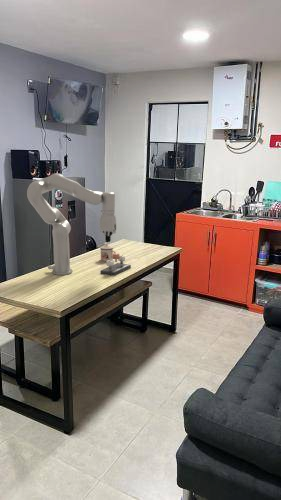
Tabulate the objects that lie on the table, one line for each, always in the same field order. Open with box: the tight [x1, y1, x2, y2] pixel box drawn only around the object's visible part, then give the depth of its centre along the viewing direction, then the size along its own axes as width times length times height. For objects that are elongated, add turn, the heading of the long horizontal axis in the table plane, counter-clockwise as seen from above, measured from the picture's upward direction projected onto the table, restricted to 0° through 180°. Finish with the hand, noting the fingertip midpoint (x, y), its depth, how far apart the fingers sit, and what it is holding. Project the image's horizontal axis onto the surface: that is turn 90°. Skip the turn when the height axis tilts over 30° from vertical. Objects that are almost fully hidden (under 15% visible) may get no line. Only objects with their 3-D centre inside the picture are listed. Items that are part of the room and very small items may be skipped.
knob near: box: [106, 259, 115, 269], centre depth 238 cm, size 4×4×5 cm
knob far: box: [117, 255, 126, 264], centre depth 250 cm, size 4×4×5 cm
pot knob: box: [113, 252, 120, 263], centre depth 243 cm, size 4×4×5 cm
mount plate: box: [100, 262, 132, 277], centre depth 245 cm, size 21×10×2 cm, turn 152°
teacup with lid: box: [100, 243, 117, 262], centre depth 269 cm, size 12×9×12 cm
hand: (107, 241), depth 236 cm, fingers closed
